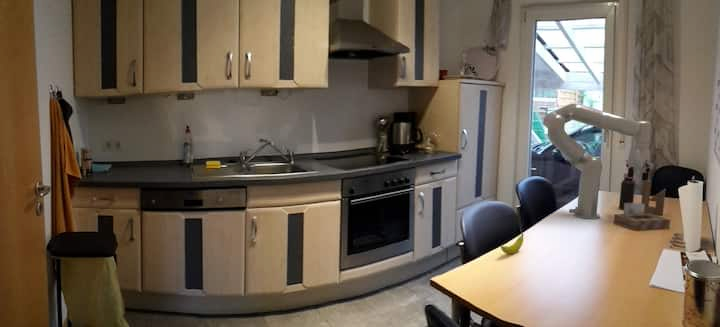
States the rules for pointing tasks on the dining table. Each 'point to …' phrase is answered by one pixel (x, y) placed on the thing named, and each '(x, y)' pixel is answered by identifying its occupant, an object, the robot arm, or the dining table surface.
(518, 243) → the banana
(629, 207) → the grey bar
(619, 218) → the post base
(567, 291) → the dining table surface
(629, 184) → the bottle
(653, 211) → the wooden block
